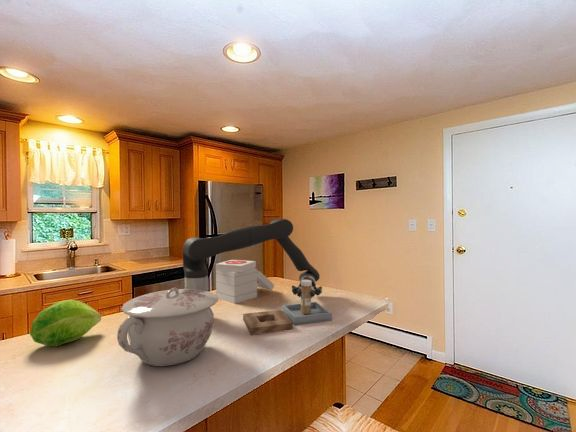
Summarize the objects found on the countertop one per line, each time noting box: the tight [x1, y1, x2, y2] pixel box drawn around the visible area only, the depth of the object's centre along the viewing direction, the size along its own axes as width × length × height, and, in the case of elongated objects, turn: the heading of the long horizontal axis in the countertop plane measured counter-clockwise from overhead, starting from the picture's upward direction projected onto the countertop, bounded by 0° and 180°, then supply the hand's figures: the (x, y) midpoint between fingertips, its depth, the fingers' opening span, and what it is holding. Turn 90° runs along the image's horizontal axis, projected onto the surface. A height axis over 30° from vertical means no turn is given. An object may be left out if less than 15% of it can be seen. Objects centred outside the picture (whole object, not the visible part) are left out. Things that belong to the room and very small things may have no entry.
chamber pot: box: [116, 286, 219, 367], centre depth 91 cm, size 28×28×21 cm
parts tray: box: [281, 301, 333, 326], centre depth 126 cm, size 16×16×3 cm
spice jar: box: [300, 280, 312, 314], centre depth 126 cm, size 5×5×13 cm
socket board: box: [242, 309, 294, 336], centre depth 116 cm, size 16×16×2 cm
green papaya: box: [29, 299, 102, 347], centre depth 102 cm, size 15×20×14 cm
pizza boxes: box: [215, 259, 275, 305], centre depth 158 cm, size 19×30×18 cm, turn 139°
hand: (305, 295), depth 123 cm, fingers open, 4 cm apart
